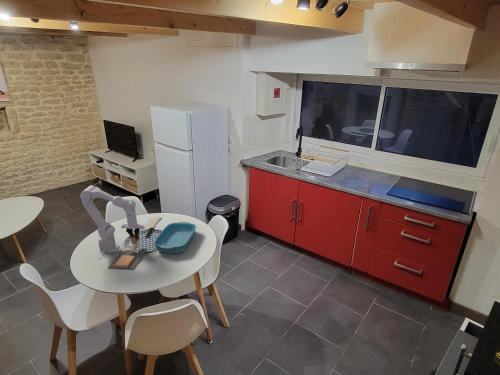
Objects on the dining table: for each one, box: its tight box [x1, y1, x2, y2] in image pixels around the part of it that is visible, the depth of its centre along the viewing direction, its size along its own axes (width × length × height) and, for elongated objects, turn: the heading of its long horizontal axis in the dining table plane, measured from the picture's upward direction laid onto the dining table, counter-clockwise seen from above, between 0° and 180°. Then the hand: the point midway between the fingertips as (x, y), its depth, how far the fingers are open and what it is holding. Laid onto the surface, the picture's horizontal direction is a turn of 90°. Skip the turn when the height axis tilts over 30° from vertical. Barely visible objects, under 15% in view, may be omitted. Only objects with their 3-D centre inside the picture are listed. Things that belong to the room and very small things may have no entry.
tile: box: [114, 255, 135, 268], centre depth 192 cm, size 8×2×10 cm
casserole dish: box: [153, 221, 197, 254], centre depth 214 cm, size 37×22×7 cm, turn 173°
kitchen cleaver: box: [144, 216, 162, 238], centre depth 235 cm, size 31×2×10 cm
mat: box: [107, 250, 146, 271], centre depth 195 cm, size 16×18×1 cm
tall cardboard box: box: [124, 232, 140, 252], centre depth 202 cm, size 12×6×5 cm, turn 174°
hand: (134, 238), depth 204 cm, fingers closed on tall cardboard box, 3 cm apart
